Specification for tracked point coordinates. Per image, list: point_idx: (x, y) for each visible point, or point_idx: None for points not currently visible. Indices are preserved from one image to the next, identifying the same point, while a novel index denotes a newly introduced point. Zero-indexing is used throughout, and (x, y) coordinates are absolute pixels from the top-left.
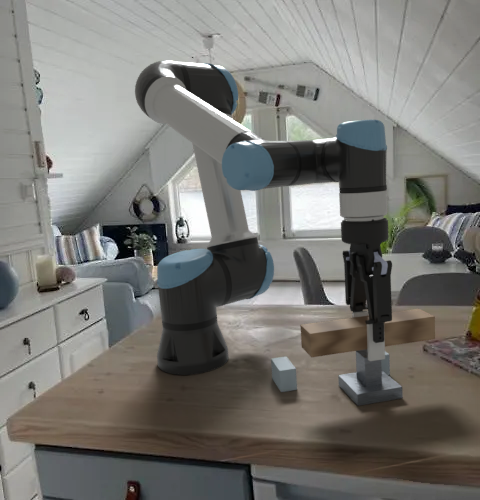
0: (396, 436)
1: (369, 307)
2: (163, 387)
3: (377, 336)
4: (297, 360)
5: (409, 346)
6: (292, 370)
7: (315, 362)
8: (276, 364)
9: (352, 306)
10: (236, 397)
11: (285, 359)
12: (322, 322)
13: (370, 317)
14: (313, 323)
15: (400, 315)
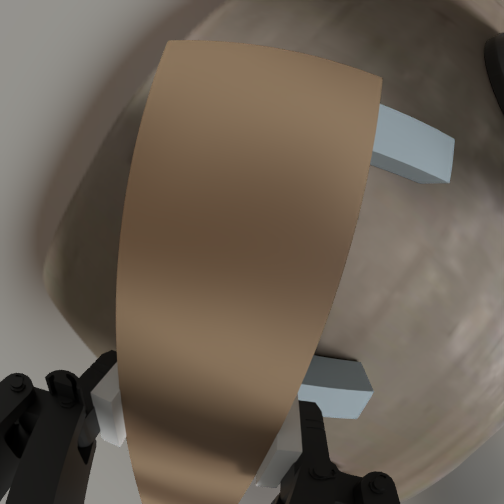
0: (88, 225)
1: (41, 446)
2: (451, 4)
3: (93, 366)
4: (467, 259)
5: (352, 453)
6: None
7: (438, 288)
8: (417, 123)
9: (301, 483)
10: (378, 43)
11: (434, 166)
12: (333, 236)
13: (61, 409)
14: (355, 163)
15: (188, 499)
